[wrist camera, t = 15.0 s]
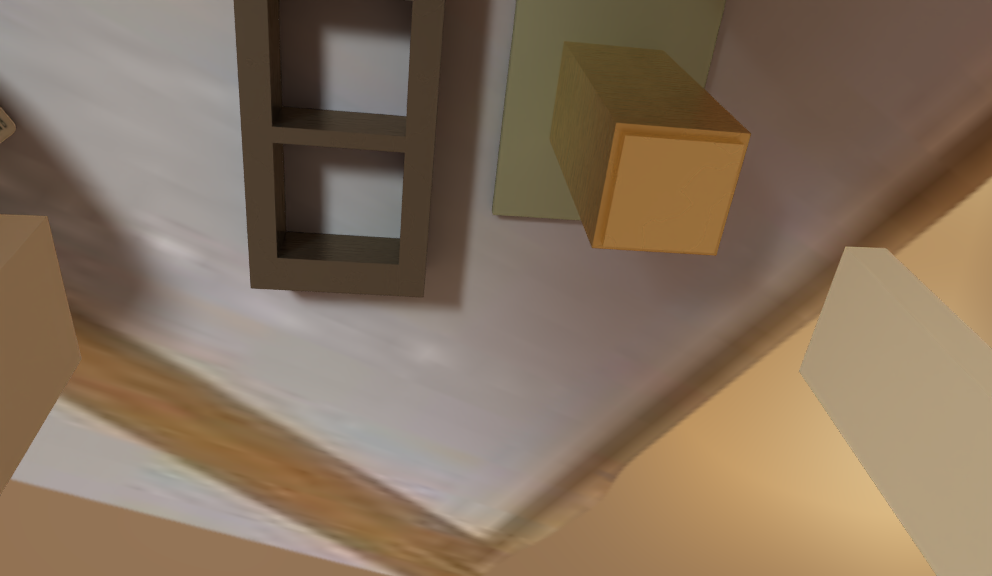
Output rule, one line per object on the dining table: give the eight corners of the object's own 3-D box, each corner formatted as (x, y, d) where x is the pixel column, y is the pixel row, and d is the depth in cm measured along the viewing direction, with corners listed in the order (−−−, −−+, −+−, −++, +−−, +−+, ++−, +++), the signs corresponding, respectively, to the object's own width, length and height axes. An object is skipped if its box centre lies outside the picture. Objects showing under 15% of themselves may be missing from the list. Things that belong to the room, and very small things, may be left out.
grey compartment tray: (234, -265, 31) (217, -273, 28) (459, -235, 32) (462, -240, 30) (261, 260, 43) (250, 288, 40) (423, 269, 44) (423, 297, 42)
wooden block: (564, 41, 38) (618, 126, 27) (663, 50, 38) (755, 137, 28) (549, 139, 40) (594, 252, 30) (642, 146, 41) (719, 260, 30)
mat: (524, -68, 36) (525, -66, 35) (732, -45, 37) (736, -43, 36) (491, 210, 43) (492, 214, 42) (667, 221, 44) (670, 226, 43)
